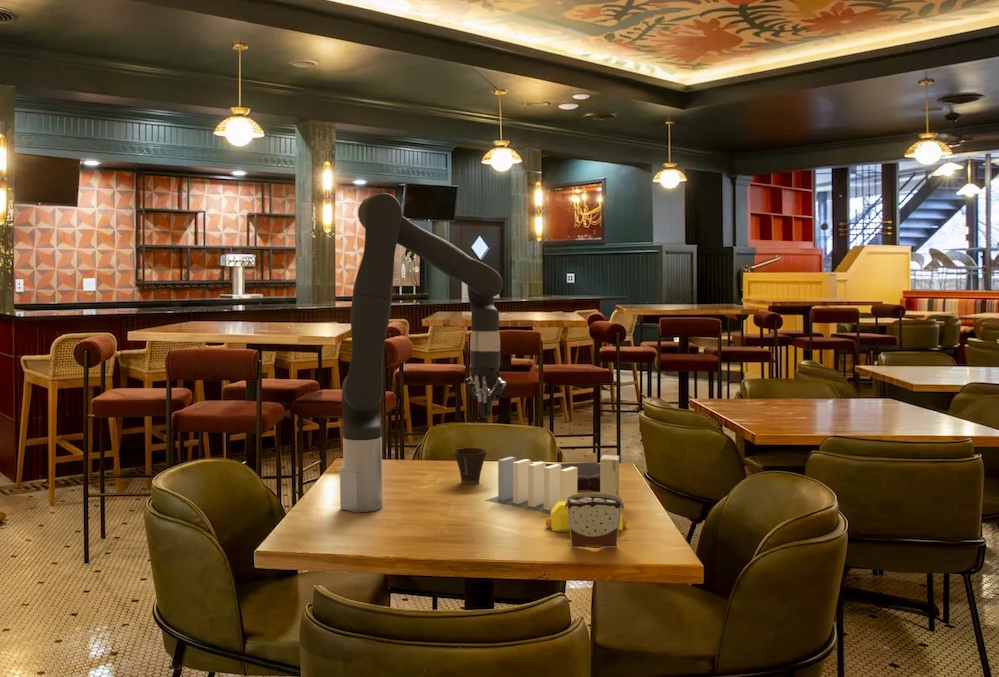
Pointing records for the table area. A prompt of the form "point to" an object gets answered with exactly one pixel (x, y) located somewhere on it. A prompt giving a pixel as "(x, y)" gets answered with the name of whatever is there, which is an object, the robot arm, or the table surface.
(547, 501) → the domino
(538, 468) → the domino
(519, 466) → the domino
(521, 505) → the mat
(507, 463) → the domino
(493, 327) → the robot arm
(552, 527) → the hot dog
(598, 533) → the food container
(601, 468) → the skincare box
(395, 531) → the table surface
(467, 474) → the cup
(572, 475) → the domino
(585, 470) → the diary
